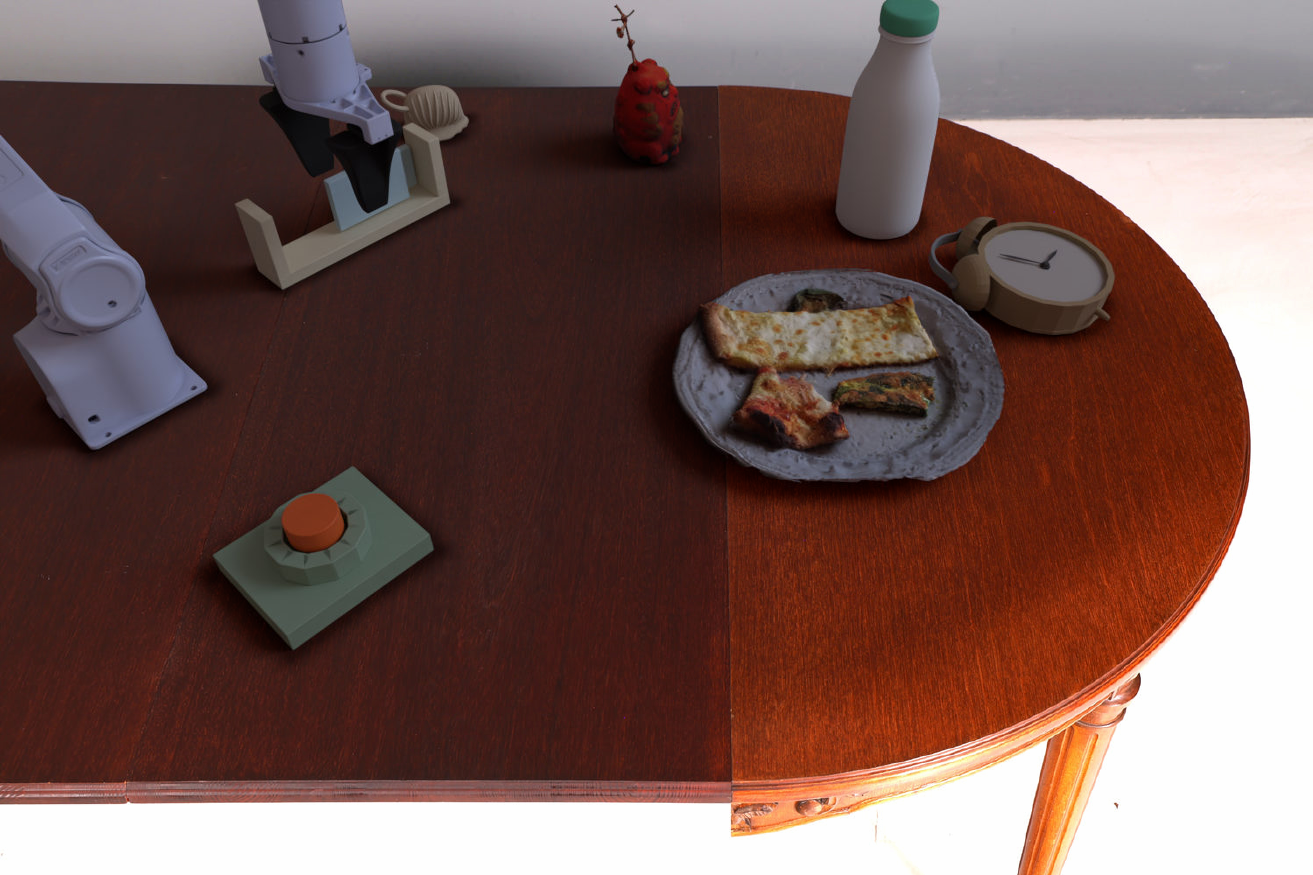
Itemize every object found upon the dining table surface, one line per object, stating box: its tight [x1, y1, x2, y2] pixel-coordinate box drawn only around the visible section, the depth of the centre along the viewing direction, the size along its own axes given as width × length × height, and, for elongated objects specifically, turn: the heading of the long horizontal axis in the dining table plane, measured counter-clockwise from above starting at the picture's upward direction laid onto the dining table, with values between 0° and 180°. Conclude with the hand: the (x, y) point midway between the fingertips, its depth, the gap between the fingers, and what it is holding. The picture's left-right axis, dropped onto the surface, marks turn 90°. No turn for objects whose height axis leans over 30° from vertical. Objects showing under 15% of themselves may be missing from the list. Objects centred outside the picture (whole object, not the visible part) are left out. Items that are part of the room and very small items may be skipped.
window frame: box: [234, 123, 451, 291], centre depth 94 cm, size 18×4×7 cm, turn 136°
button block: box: [212, 465, 435, 651], centre depth 69 cm, size 11×9×4 cm
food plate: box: [671, 267, 1007, 483], centre depth 80 cm, size 25×23×4 cm
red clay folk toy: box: [610, 3, 684, 166], centre depth 101 cm, size 8×7×15 cm
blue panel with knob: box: [323, 147, 410, 231], centre depth 94 cm, size 8×2×8 cm, turn 136°
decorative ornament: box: [379, 84, 470, 142], centre depth 107 cm, size 4×8×5 cm, turn 104°
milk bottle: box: [835, 0, 941, 240], centre depth 90 cm, size 8×8×20 cm
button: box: [281, 493, 344, 553], centre depth 68 cm, size 4×4×2 cm
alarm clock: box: [928, 216, 1116, 336], centre depth 88 cm, size 11×5×15 cm
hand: (348, 189), depth 86 cm, fingers open, 7 cm apart
